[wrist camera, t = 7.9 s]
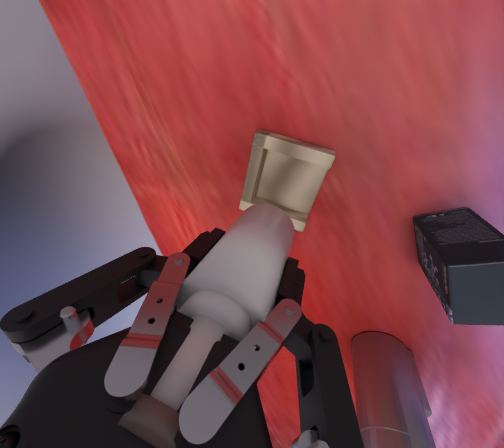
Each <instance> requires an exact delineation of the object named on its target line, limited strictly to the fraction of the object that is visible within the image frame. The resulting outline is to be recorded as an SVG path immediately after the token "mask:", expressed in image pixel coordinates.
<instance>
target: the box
mask: <svg viewBox="0 0 504 448" xmlns="http://www.w3.org/2000/svg"><path fill="white" fill-rule="evenodd" d="M413 222H414V229H415V237H416V244H417V252H418V262H419V264H420V266H421V268H422V270H423V272H424V273H425V275H426V277H427V279H428V281H429V283H430V284H431V286H432V288H433V290H434V292H435V293H436V295H437V297H438V299H439V301H440V302H441V304H442V306H443V308H444V310H445V312H446V314H447V315H448V317H449V319H450V321H451V323H452V324H465V325H504V235H503V234H502V233H501V232H499V231H498V230H497V229H496V228H494V227H493V226H492V225H490V224H489V223H488V222H486V221H485V220H484V219H482V218H481V217H480V216H479V215H477V214H476V213H475V212H473V211H472V210H471V209H470V208H461V209H454V210H448V211H443V212H436V213H431V214H425V215H420V216H414V217H413Z"/></svg>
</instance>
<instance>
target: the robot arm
mask: <svg viewBox="0 0 504 448" xmlns="http://www.w3.org/2000/svg"><path fill="white" fill-rule="evenodd" d="M224 234H225V231H223V230H221V229H218V228H215V229H214V230H213V231H212V232H211V233H210V232H208V231H206V232H204V233H201V234H200V235H199V236H198V237H197V238H196V239H195V240H194V241H193V242H192V243H191V244H190V245H189V246H187V247H186V248H185V249H184V250H183V251H182V252H178V253H174V254H172V255H170V256H169V257H166V256H159V255H156V251H155V250H154V249H152V248H150V247H141V248H138V249H136V250H134V251H132V252H130V253H128V254H125V255H123V256H121V257H119V258H117V259H115V260H113V261H111V262H109V263H107V264H105V265H102V266H101V267H99V268H96V269H94V270H92V271H90V272H88V273H86V274H84V275H82V276H80V277H78V278H75V279H73V280H71V281H69V282H68V283H65V284H63V285H61V286H59V287H57V288H55V289H53V290H50V291H48V292H46V293H44V294H42V295H40V296H38V297H36V298H34V299H32V300H30V301H28V302H26V303H23V304H21V305H19V306H17V307H15V308H13V309H12V310H10V311H9V312H8V313H7V314H6V315H4V317H3V318H2V320H1V321H0V328H1V329H2V331H3V332H4V333H5V334H6V336H7V338H8V340H9V342H10V343H11V344H12V345H13V347H14V348H15V349H16V350H17V351H18V353H20V354H21V355H23V357H24V358H25V359H26V360H27V361H28V362H30V363H31V364H32V365H33V367H34V368H35V370H36V371H37V373H38V375H37V376H36V377H35V378H34V380H33V381H32V383H31V384H30V386H29V387H28V389H27V391H26V393H25V394H24V396H23V398H22V400H21V401H20V403H19V404H18V406H17V407H16V409H15V410H14V411H13V413H12V414H11V416H10V417H9V418H8V419H7V421H6V422H5V423H4V424H3V425H2V427H1V428H0V448H155V447H154V446H152V445H151V444H149V443H147V442H146V441H144V440H143V439H141V438H139V437H138V436H136V435H135V434H133V433H131V432H130V431H128V430H127V429H125V428H123V427H122V426H120V425H119V424H118V422H119V421H120V419H121V418H122V416H123V415H124V413H126V412H128V411H130V410H131V409H132V407H133V406H134V404H135V403H136V401H137V400H138V399H139V398H140V397H141V396H142V395H143V394H146V395H149V396H150V394H151V393H152V391H153V389H154V388H155V386H156V385H157V383H158V382H159V380H160V378H161V377H162V375H163V374H164V372H165V371H166V369H167V367H168V366H169V364H170V363H171V361H172V360H173V358H174V357H175V355H176V353H177V352H178V350H179V349H180V347H181V346H182V344H183V342H184V341H185V339H186V338H187V336H188V335H189V333H190V331H191V327H190V326H191V324H192V323H193V321H194V319H193V318H191V317H188V316H186V315H184V314H182V313H180V312H178V311H179V309H180V308H181V293H182V288H183V282H184V280H185V279H186V278H187V277H188V276H189V275H190V273H191V272H192V271H193V270H194V269H195V268H196V267H197V265H198V264H199V263H200V262H201V261H202V260H203V258H204V257H205V256H206V255H207V254H208V253H209V251H210V250H211V249H212V248H213V247H214V246H215V245H216V243H217V242H218V241H219V240H220V239H221V238H222V236H223V235H224ZM298 262H299V260H296V259H294V258H291V257H289V258H288V260H287V263H286V266H285V270H284V273H283V276H282V280H281V283H280V286H279V290H278V293H277V296H276V300H275V304H274V307H273V310H272V311H271V312H270V314H269V315H268V316H267V317H266V319H265V321H264V320H263V321H260V322H258V323H257V324H256V326H255V327H254V328H253V329H252V330H251V331H250V332H249V333H248V334H247V335H246V336H245V338H244V339H243V340H242V341H241V342H240V341H238V340H236V339H234V338H232V337H230V336H228V335H225V334H223V335H222V337H221V340H220V342H219V341H216V342H215V343H214V344H213V346H212V348H211V350H210V352H209V354H208V356H207V358H206V360H205V362H204V364H203V366H202V368H201V370H200V372H199V374H198V376H197V378H196V380H195V382H194V384H193V386H192V388H191V390H190V392H189V394H188V396H187V398H186V399H185V400H184V402H183V403H182V404H181V405H180V407H179V409H178V411H177V412H178V413H179V414H180V415H179V425H178V431H177V433H176V435H175V438H174V442H175V445H176V447H175V448H273V447H272V443H271V439H270V435H269V431H268V427H267V423H266V419H265V415H264V412H263V408H262V404H261V400H260V396H259V392H258V388H257V383H258V382H259V380H260V379H261V377H262V376H263V374H264V373H265V371H266V370H267V368H268V367H269V365H270V364H271V362H272V361H273V359H274V358H275V357H276V355H277V354H278V352H279V351H280V349H281V348H282V347H283V346H285V347H286V348H287V349H288V350H289V351H290V352H291V353H292V354H293V355H295V358H296V372H297V386H298V399H299V413H300V427H301V435H299V436H298V437H297V438H296V439H294V440H293V442H292V443H291V446H290V448H436V446H435V443H434V439H433V436H432V433H431V430H430V426H429V423H428V420H427V417H429V416H431V414H432V412H431V409H430V406H429V402H428V399H427V396H426V393H425V390H424V387H423V384H422V381H421V378H420V375H419V372H418V369H417V366H416V363H415V360H414V357H413V354H412V351H411V350H409V349H407V348H406V347H405V346H404V345H403V343H402V342H400V341H399V340H398V339H396V338H395V337H393V336H390V335H388V334H384V333H380V332H364V333H360V334H358V335H356V336H355V337H354V338H353V339H352V341H351V349H352V351H351V353H352V362H353V375H354V388H355V400H356V412H357V416H356V412H355V408H354V404H353V400H352V396H351V392H350V388H349V384H348V380H347V376H346V372H345V368H344V364H343V360H342V356H341V352H340V348H339V344H338V340H337V337H336V335H335V333H334V332H333V330H332V329H331V328H329V327H328V326H326V325H324V324H316V325H315V324H313V323H312V322H311V321H309V320H308V319H307V318H306V317H305V315H304V314H303V312H302V309H301V301H302V295H303V289H304V282H305V273H304V270H302V269H299V268H297V266H298ZM133 276H134V277H133ZM131 277H132V278H131ZM128 279H129V280H128ZM126 280H127V281H126ZM124 281H125V282H124ZM121 283H122V284H121ZM146 293H148V294H147V296H146V298H145V300H144V302H143V304H142V306H141V308H140V310H139V312H138V314H137V317H136V318H135V321H134V323H133V325H132V326H131V327H129V328H127V329H124V330H122V331H119V332H117V333H114V334H111V335H109V336H106V337H104V338H101V339H99V340H96V341H94V342H91V343H89V344H86V342H87V341H88V339H89V338H90V336H91V335H92V334H93V332H94V329H95V328H96V327H97V326H99V325H100V324H102V323H103V322H105V321H106V320H108V319H109V318H111V317H112V316H114V315H115V314H116V313H118V312H120V311H121V310H123V309H124V308H125V307H127V306H128V305H130V304H131V303H133V302H134V301H136V300H137V299H139V298H140V297H142V296H143V295H145V294H146ZM85 344H86V345H85ZM83 345H84V346H83Z"/></svg>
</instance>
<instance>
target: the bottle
mask: <svg viewBox="0 0 504 448" xmlns="http://www.w3.org/2000/svg"><path fill="white" fill-rule="evenodd" d="M294 236H295V229H294V225H293V222H292V220H291V219H290V217H289V216H288V215H287V214H286V213H285V212H284V211H283V210H282V209H280V208H278V207H276V206H274V205H271V204H263V203H262V204H255V205H252V206H250V207H249V208H247V209H246V210H245V211H244V212H243V213H242V214H241V216H240V217H239V218H238V219H237V220H236V221H235V223H234V224H233V225H232V226H231V227H230V228H229V230H228V231H227V232H226V233H225V234H224V235H223V236H222V238H221V239H220V240H219V241H218V242H217V243H216V245H215V246H214V247H213V248H212V249H211V250H210V251H209V253H208V254H207V255H206V256H205V257H204V258H203V260H202V261H201V262H200V263H199V264H198V265H197V267H196V268H195V269H194V270H193V271H192V272H191V273H190V275H189V276H188V277H187V278H186V279H185V280H184V282H183V288H182V293H181V308H180V309H179V311H178V312H180V313H182V314H184V315H186V316H188V317H191V318H193V319H194V321H193V323H192V324H191V326H190V327H191V331H190V333H189V335H188V336H187V338H186V339H185V341H184V342H183V344H182V346H181V347H180V349H179V350H178V352H177V353H176V355H175V357H174V358H173V360H172V361H171V363H170V364H169V366H168V367H167V369H166V371H165V372H164V374H163V375H162V377H161V378H160V380H159V382H158V383H157V385H156V386H155V388H154V389H153V391H152V393H151V394H150V396H149V395H146V394H143V395H142V396H141V397H140V398H139V399H138V400H137V401H136V403H135V404H134V406H133V407H132V409H131V410H130V411H128V412H126V413H124V415H123V416H122V418H121V419H120V421H119V422H118V424H119V425H120V426H122V427H123V428H125V429H127V430H128V431H130V432H131V433H133V434H135V435H136V436H138V437H139V438H141V439H143V440H144V441H146V442H147V443H149V444H151V445H152V446H154V447H155V448H175V447H176V445H175V442H174V438H175V435H176V433H177V431H178V425H179V415H180V414H179V413H178V412H177V411H178V409H179V407H180V405H181V404H182V403H183V402H184V400H185V399H186V398H187V396H188V394H189V392H190V390H191V388H192V386H193V384H194V382H195V380H196V378H197V376H198V374H199V372H200V370H201V368H202V366H203V364H204V362H205V360H206V358H207V356H208V354H209V352H210V350H211V348H212V346H213V344H214V343H215V342H216V341H219V342H220V340H221V337H222V335H223V334H225V335H228V336H230V337H232V338H234V339H236V340H238V341H240V342H241V341H242V340H243V339H244V338H245V336H246V335H247V334H248V333H249V332H250V331H251V330H252V329H253V328H254V327H255V326H256V324H257V323H258V322H260V321H263V320H264V321H265V319H266V317H267V316H268V315H269V314H270V312H271V311H272V310H273V307H274V304H275V300H276V296H277V293H278V290H279V286H280V283H281V280H282V276H283V273H284V270H285V266H286V263H287V260H288V257H289V253H290V250H291V247H292V243H293V240H294Z"/></svg>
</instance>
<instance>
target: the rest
mask: <svg viewBox="0 0 504 448" xmlns="http://www.w3.org/2000/svg"><path fill="white" fill-rule="evenodd" d="M335 156H336V155H335V151H334V150H330V149H327V148H324V147H320V146H317V145H313V144H310V143H307V142H303V141H300V140H297V139H293V138H290V137H286V136H283V135H280V134H276V133H273V132H269V131H266V130H261V131H257V132H255V135H254V140H253V145H252V150H251V154H250V159H249V164H248V169H247V173H246V178H245V183H244V188H243V192H242V197H241V202H240V206H239V209H241V210H244V211H245V210H246V209H247V208H249V207H250V206H252V205H255V204H262V203H263V204H271V205H274V206H276V207H278V208H280V209H282V210H283V211H284V212H285V213H286V214H287V215H288V216H289V217H290V219H291V220H292V222H293V225H294V229H295V230H298V231H301V232H303V230H304V228H305V225H306V222H307V218H308V214H309V212H310V210H311V207H312V205H313V203H314V200H315V198H316V196H317V193H318V191H319V189H320V186H321V184H322V182H323V179H324V177H325V175H326V172H327V170H328V168H331V166H332V163H333V161H334V159H335Z"/></svg>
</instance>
